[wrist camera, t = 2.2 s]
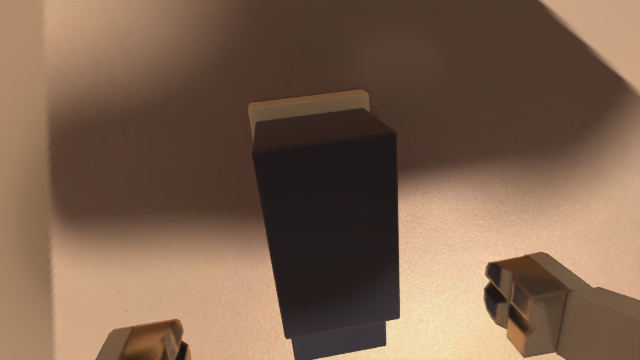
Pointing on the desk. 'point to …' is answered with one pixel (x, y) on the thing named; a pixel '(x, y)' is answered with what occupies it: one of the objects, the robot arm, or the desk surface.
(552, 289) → the robot arm
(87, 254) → the desk surface
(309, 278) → the navy stepped block
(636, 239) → the desk surface
